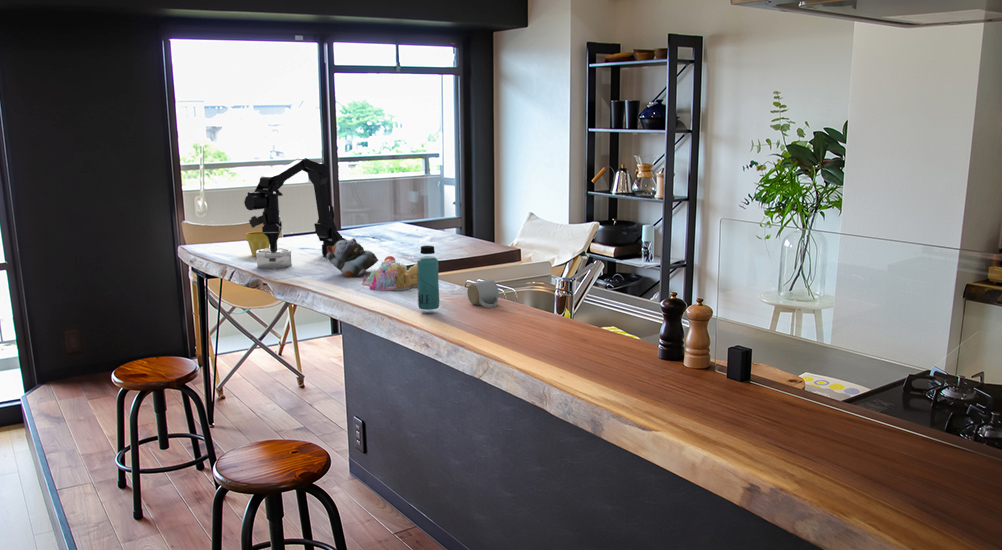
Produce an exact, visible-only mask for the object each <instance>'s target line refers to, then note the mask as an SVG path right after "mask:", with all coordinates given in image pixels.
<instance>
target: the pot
mask: <svg viewBox="0 0 1002 550" xmlns="http://www.w3.org/2000/svg"><path fill="white" fill-rule="evenodd" d="M268 249H270V247H269V248H268ZM277 249H285V250H286V252H281V253H261V251H262V250H267V249H262V250H257V251H256V256H255V257H256V263H257V264H256V267H257V268H258V269H262V270H281V269H285V268H290V267H292V266H293V265H292V249H291V248H284V247H279V248H278V247H277Z"/></svg>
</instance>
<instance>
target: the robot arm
mask: <svg viewBox="0 0 1002 550" xmlns="http://www.w3.org/2000/svg"><path fill="white" fill-rule="evenodd" d="M301 171H303V172H304V173H307V176H308V179H309V180H310V183H312V185H313V188H314V189H313V190H314V195H315V196H314V197H315V203H316V210H317V217H318V219H317V222H314V228H315V229H314V230H315V231H314V233H316V236H317V237H318V240H319V241H320V242H322V244H321V253H322V254H321V255H322V256H323V257H325V258H327V257H326V255H327V247H328V246H334V245H335V244H336V243H337V242H338V241H339V240H340V238H343V236H342V235H341V234H340V232H339V231H338V230H337V227H336V226H337V225H336V223H335V222H334V221H335V220H333V219H332V217H331V212H330V211H331V210H330V204H329V197H328V190H327V181H328V179H329V168H328V166H327V165H326V164H325V163H320V162H316V161H314V160H312V159H311V160H310V159H309V158H307V157H298V158H296V159H295V160H294V161H292V162H291V163H289V164H288V165H286V166H284V167H282V168H281V169H280V170H279V169H278V170H277V171H276V172H272V173H271V172H270V173H267V174H265V175H262V176H261V177H260V178H259V182H258V183H257V186H256V188H255V190H254V191H253V192H252V191H251V192H250V191H249V192H247V195H246V196H245V197H244V200H243V201H244V202H243V203H244V207H245V208H246V210H248V211H256V210H263V211H262V214H260V215H258V216H257V215H253V216H251V217H250V219H248V222H249V224H250V227H251V228H253V229H254V228H255V227H257V226H260V225H262V224H263V226H262V227H261V229H262V230H261V231H262V232H263V234H265V235H266V236H267V237H268V240H269V243H270V245H269V248H270V247H271V249H274V248H275V245H276V242H277V243H278V241H279V237H280V234H281V231H282V226H283V221H282V220H281V219H280V207H279V204H280V203H279V197H281V196H283V195H284V194H283V193H282V191H281V192H280V188H281V187H282V186H283V185H284V183H285V182H286V181H287V180H289V179H290V178H292V177H293V176H295V175H297V174H298V173H300V172H301Z"/></svg>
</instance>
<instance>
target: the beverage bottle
mask: <svg viewBox="0 0 1002 550" xmlns="http://www.w3.org/2000/svg"><path fill="white" fill-rule="evenodd" d="M421 254H422V255H430V256H421V257H419V258H418V260H417V261H416V264H418V273H417V274H418V277H417V278H418V279H417V280H418V281H417V282H418V287H416V288H417V305H418V308H419V309H420V310H428V311H429V310H430V311H431V310H436V309H439V308H440V289H439V288H440V286H439V285H440V284H439V260H438V259H437V258H436V257H435V256H431V255H433V254H435V246H434V245H422V246H420V255H421Z"/></svg>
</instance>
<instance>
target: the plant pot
mask: <svg viewBox="0 0 1002 550" xmlns="http://www.w3.org/2000/svg"><path fill="white" fill-rule="evenodd" d="M245 238H246V239H245V240H246V242H248V246H249V248H250V252H251V255H252V256H253V257H257V256H256V251H257V250H262V249H268V248H270V243H269V240H268V237H267V236H266V235H265V234H263V232H262V230H261V231H250V232H246V233H245Z"/></svg>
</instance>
